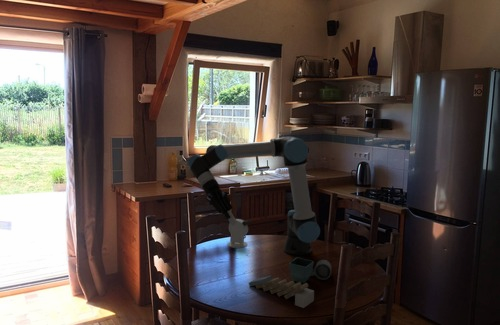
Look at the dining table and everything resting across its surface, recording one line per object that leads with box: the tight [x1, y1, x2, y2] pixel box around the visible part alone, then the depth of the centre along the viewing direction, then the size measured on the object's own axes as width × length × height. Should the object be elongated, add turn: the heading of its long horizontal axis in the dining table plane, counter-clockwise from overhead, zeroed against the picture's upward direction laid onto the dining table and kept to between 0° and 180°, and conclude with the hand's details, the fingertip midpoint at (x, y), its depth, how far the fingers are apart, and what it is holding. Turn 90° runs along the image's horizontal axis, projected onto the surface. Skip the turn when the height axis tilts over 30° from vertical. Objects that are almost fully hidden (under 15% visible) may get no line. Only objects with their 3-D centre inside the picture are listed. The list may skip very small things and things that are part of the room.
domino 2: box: [254, 277, 281, 290], centre depth 178 cm, size 2×5×10 cm
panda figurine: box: [227, 218, 250, 249], centre depth 235 cm, size 12×11×15 cm
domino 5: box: [276, 282, 303, 298], centre depth 171 cm, size 2×5×10 cm
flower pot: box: [288, 257, 315, 284], centre depth 187 cm, size 9×9×9 cm
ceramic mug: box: [310, 259, 332, 281], centre depth 193 cm, size 11×8×8 cm
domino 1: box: [248, 274, 274, 287], centre depth 180 cm, size 2×5×10 cm
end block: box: [294, 287, 315, 309], centre depth 166 cm, size 4×8×4 cm, turn 141°
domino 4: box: [269, 280, 296, 295], centre depth 173 cm, size 2×5×10 cm
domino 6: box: [283, 282, 309, 300], centre depth 169 cm, size 2×5×10 cm
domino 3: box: [262, 278, 288, 292], centre depth 175 cm, size 2×5×10 cm
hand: (234, 223), depth 187 cm, fingers closed
